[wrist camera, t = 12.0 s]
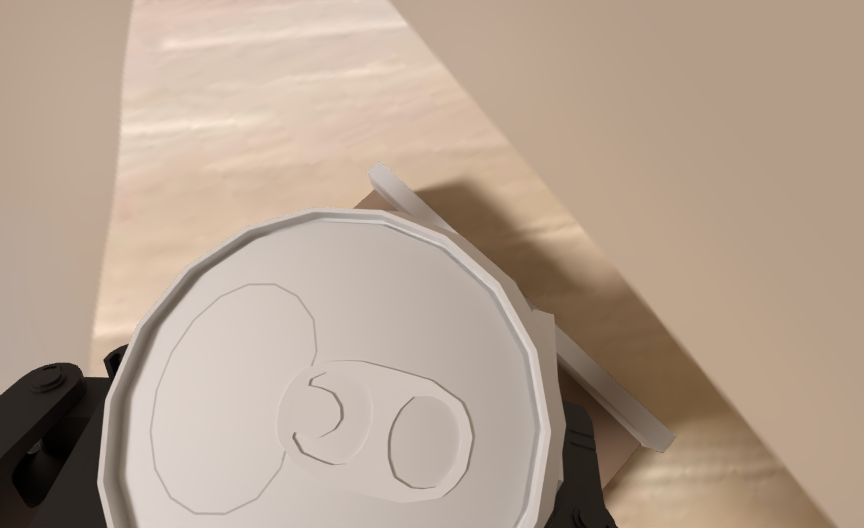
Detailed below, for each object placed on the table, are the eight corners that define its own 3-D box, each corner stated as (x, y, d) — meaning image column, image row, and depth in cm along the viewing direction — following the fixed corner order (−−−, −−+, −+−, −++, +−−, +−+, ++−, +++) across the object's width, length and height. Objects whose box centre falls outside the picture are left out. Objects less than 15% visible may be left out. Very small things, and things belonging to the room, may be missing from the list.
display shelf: (635, 421, 24) (680, 431, 19) (448, 639, 22) (447, 712, 17) (394, 193, 28) (383, 157, 24) (216, 354, 26) (165, 349, 21)
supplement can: (307, 456, 20) (-43, 646, 6) (355, 293, 22) (184, 135, 8) (471, 502, 19) (537, 856, 5) (505, 329, 22) (621, 225, 7)
